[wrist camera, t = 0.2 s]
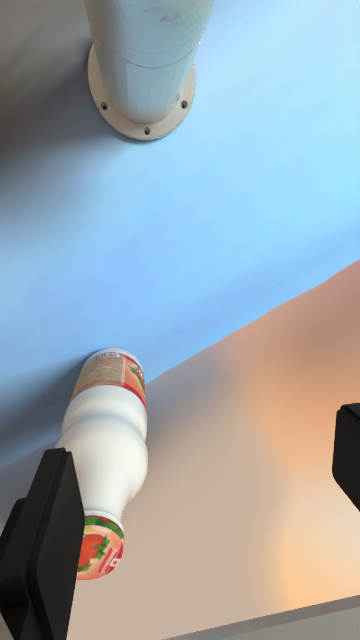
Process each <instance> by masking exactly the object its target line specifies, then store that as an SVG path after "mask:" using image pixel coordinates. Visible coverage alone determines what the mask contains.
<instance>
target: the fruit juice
mask: <svg viewBox="0 0 360 640" xmlns="http://www.w3.org/2000/svg"><path fill="white" fill-rule="evenodd" d="M146 432H147V414H146V400H145V385H144V373H143V369H142V366H141V364H140V362H139V361H138V359H137V358H136V357H135V356H134V355H133V354H131V353H130V352H128V351H126V350H123V349H119V348H106V349H102V350H100V351H97V352H96V353H94V354H92V355H91V356H90V357H89V358H88V359H87V360H86V362H85V363H84V365H83V367H82V369H81V372H80V375H79V377H78V380H77V383H76V386H75V388H74V391H73V394H72V397H71V399H70V402H69V405H68V408H67V410H66V413H65V416H64V419H63V424H62V429H61V438H60V439H59V441H58V443H57V444H56V446H55V448H61V447H64V448H65V449H66V451H71V452H72V455H73V460H74V465H75V470H76V475H77V479H78V484H79V489H80V494H81V498H82V503H83V508H84V513H85V528H84V534H83V540H82V546H81V553H80V559H79V565H78V571H77V577H76V579H77V580H91V579H95V578H99V577H101V576H104V575H106V574H108V573H109V572H110V571H112V570H113V569H114V568H115V567H116V566H117V564H118V563H119V561H120V559H121V557H122V553H123V547H124V531H123V527H122V525H121V523H120V522H121V517H122V514H123V511H124V508H125V505H126V504H127V503H128V502H129V501H131V500H132V499H133V498H134V497H135V496H136V494H137V493H138V492H139V490H140V488H141V487H142V485H143V483H144V480H145V477H146V474H147V467H148V453H147V449H146V445H145V439H146ZM55 448H54V449H55Z"/></svg>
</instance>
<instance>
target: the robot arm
mask: <svg viewBox="0 0 360 640" xmlns="http://www.w3.org/2000/svg"><path fill="white" fill-rule="evenodd" d="M213 1H214V0H84V3H85V7H86V12H87V16H88V21H89V25H90V30H91V34H92V38H93V43H92V47H91V50H90V53H89V58H88V66H87V69H88V82H89V87H90V91H91V94H92V97H93V100H94V102H95V104H96V106H97V109H98V110H99V112H100V113H101V115H102V116H103V118H104V119H105V120H106V121H107V122H108V123H109V124H110V125H111V126H112V127H113V128H114V129H115V130H117V131H118V132H120V133H121V134H123V135H125V136H128V137H130V138H133V139H137V140H154V139H159V138H161V137H164V136H166V135H168V134H170V133H171V132H172V131H174V130H175V129H176V128H177V127H178V126H179V125H180V124H181V123H182V122H183V120H184V118H185V117H186V115H187V114H188V112H189V110H190V107H191V105H192V101H193V98H194V93H195V85H196V79H195V68H194V63H193V61H194V59H195V56H196V53H197V50H198V48H199V45H200V42H201V39H202V37H203V34H204V31H205V28H206V25H207V22H208V20H209V17H210V13H211V10H212V6H213ZM182 105H184V106H185V109H183V108H182ZM104 106H106V107H107V110H104V109H103V107H104ZM145 131H148V132H149V134H148V135H146V134H145ZM332 473H333V477H334V479H335V481H336V482H337V484H338V485H339V486H340V487H341V489H342V490H343V491H344V492H345V494H346V495H347V496H348V497H349V499H350V500H351V501H352V502H353V504H354V505H355V506H356V507H357V509H358V510H359V511H360V403H352V404H346V405H342V406H341V408H340V410H338V411H337V415H336V428H335V441H334V452H333V465H332ZM84 528H85V513H84V508H83V503H82V498H81V494H80V489H79V484H78V479H77V475H76V470H75V465H74V460H73V455H72V452H71V451H66V449H65V448H64V447H61V448H55V449H48V450H46V451H45V452H44V454H43V457H42V460H41V462H40V465H39V467H38V470H37V472H36V475H35V477H34V480H33V482H32V485H31V487H30V490H29V492H28V495H27V497H26V498H20V499H18V500H17V501H16V503H15V504H14V506H13V509H12V511H11V513H10V516H9V518H8V520H7V523H6V525H5V527H4V530H3V532H2V534H1V536H0V640H66V637H67V632H68V626H69V619H70V613H71V607H72V601H73V595H74V589H75V583H76V577H77V571H78V565H79V559H80V553H81V546H82V540H83V534H84ZM163 640H360V595H357V596H352V597H348V598H344V599H339V600H334V601H330V602H325V603H321V604H317V605H312V606H308V607H303V608H298V609H294V610H290V611H285V612H281V613H277V614H272V615H267V616H263V617H258V618H254V619H250V620H245V621H241V622H236V623H232V624H228V625H224V626H219V627H215V628H211V629H206V630H202V631H197V632H193V633H189V634H185V635H180V636H176V637H172V638H168V639H163Z"/></svg>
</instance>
